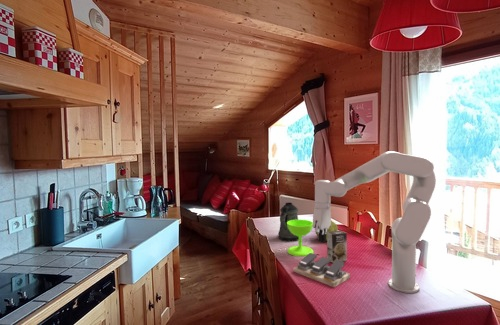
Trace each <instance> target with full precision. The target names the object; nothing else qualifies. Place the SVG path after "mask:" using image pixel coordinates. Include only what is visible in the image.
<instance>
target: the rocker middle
mask: <svg viewBox="0 0 500 325" xmlns="http://www.w3.org/2000/svg"><path fill="white" fill-rule="evenodd" d="M315 262H316V263H315V264H314V265H313V266H312V267H311V268H312V269H313V270H316V271H319V272H320V271H321V270H322V269H323V268H324V267H325V266H326V265H327V266H328V265H329V263H330V262H331V261H330V259H328V258H327V257H325V256H322V257H320V258H319V259H318V260H317V261H315Z"/></svg>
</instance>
